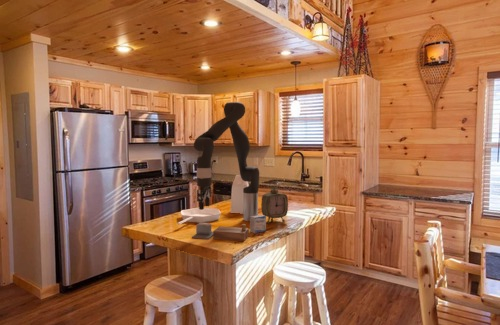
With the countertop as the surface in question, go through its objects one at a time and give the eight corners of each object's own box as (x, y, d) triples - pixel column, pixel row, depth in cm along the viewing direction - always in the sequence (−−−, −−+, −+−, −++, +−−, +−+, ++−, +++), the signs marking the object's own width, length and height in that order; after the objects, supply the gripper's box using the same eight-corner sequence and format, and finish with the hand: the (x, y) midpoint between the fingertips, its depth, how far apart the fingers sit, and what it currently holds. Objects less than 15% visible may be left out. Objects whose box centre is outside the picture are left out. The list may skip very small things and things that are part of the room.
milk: (249, 210, 238) (249, 174, 236) (248, 214, 226) (248, 175, 225) (233, 210, 239) (233, 174, 237) (230, 213, 228) (230, 175, 226)
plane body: (219, 233, 178) (219, 220, 177) (248, 235, 174) (248, 222, 174) (213, 239, 168) (213, 225, 167) (244, 241, 164) (244, 227, 164)
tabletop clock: (267, 224, 197) (267, 182, 196) (259, 221, 205) (260, 181, 204) (287, 222, 204) (288, 181, 202) (279, 219, 212) (280, 180, 210)
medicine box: (254, 233, 178) (254, 217, 177) (249, 231, 182) (249, 216, 181) (266, 231, 183) (266, 215, 182) (261, 229, 186) (261, 214, 186)
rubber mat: (200, 231, 181) (200, 230, 181) (216, 232, 179) (216, 231, 179) (191, 238, 169) (191, 236, 169) (208, 239, 167) (208, 238, 167)
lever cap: (198, 232, 177) (198, 222, 176) (211, 233, 175) (211, 222, 175) (196, 234, 173) (196, 223, 173) (209, 235, 172) (209, 224, 171)
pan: (227, 216, 221) (227, 209, 221) (201, 231, 181) (201, 223, 181) (190, 213, 229) (190, 206, 228) (156, 228, 189) (156, 220, 189)
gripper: (202, 174, 180) (202, 204, 181) (191, 178, 166) (192, 210, 167) (215, 175, 178) (215, 205, 179) (206, 178, 164) (206, 210, 166)
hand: (204, 207), depth 173 cm, fingers open, 8 cm apart
